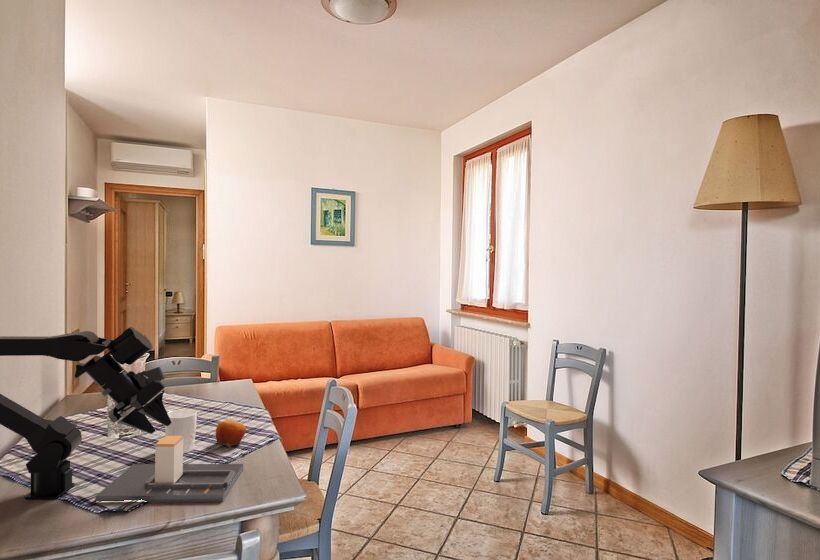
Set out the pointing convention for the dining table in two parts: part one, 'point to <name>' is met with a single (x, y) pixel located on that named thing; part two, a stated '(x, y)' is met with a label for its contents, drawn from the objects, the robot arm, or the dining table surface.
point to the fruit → (229, 433)
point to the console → (173, 484)
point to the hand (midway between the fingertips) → (161, 428)
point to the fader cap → (169, 459)
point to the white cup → (183, 427)
